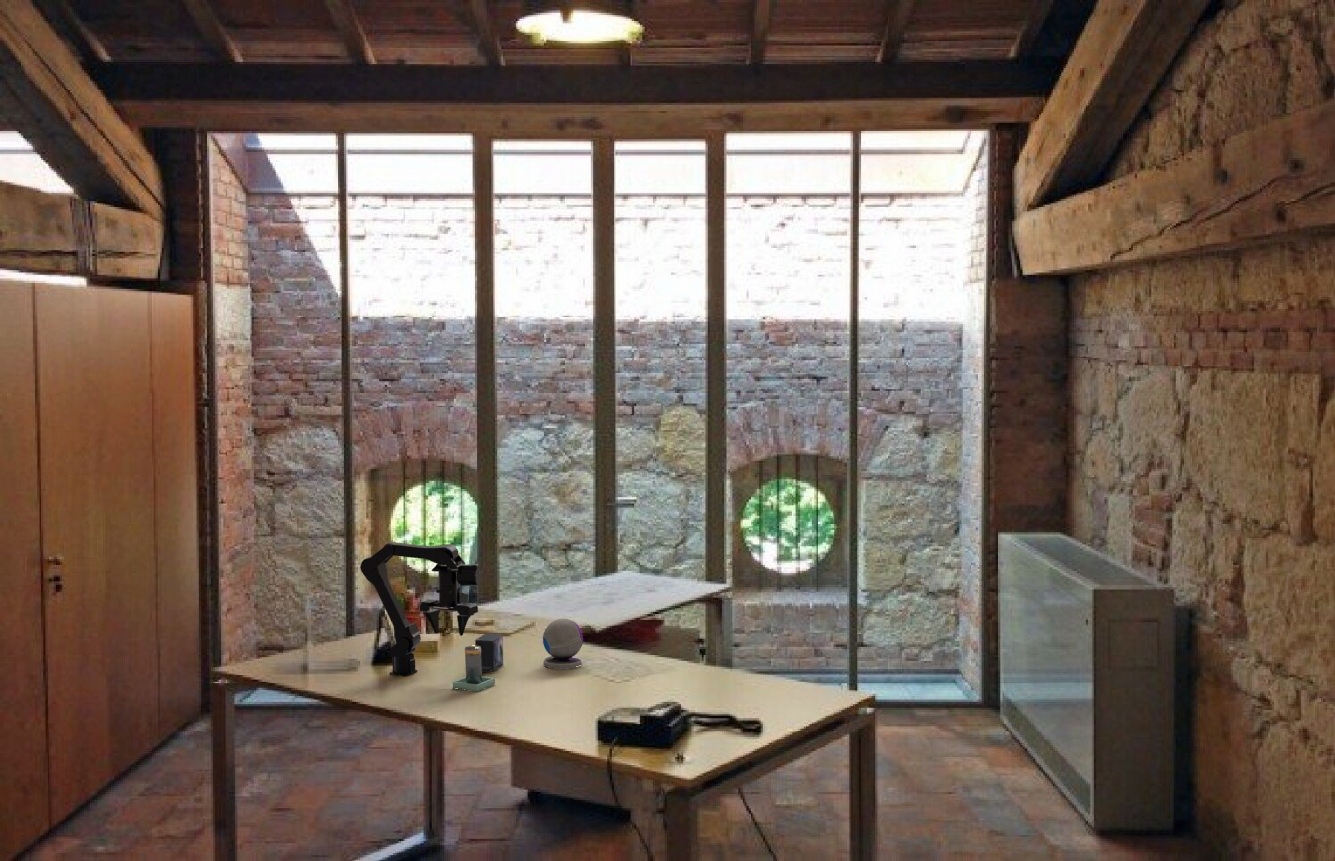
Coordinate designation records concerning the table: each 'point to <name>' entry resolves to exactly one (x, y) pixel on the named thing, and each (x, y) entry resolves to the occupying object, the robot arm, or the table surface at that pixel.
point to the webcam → (562, 644)
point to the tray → (474, 687)
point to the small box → (490, 651)
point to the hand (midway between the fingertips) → (449, 634)
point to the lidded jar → (473, 664)
